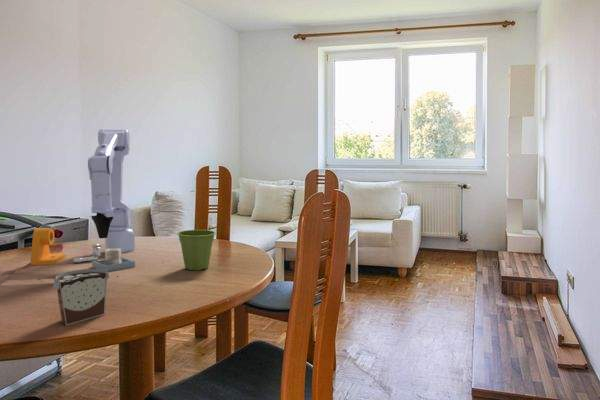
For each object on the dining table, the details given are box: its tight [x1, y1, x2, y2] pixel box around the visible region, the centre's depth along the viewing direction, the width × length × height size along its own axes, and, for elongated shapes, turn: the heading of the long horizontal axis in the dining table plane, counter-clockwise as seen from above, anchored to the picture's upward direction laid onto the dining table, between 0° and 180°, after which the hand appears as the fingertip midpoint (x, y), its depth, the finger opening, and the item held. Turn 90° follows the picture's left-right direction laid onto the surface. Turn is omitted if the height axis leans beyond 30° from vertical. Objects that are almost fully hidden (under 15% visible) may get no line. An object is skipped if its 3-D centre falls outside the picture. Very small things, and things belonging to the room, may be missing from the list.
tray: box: [91, 256, 136, 273], centre depth 160 cm, size 9×9×3 cm
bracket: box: [30, 227, 67, 266], centre depth 168 cm, size 11×7×12 cm, turn 6°
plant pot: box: [176, 229, 217, 271], centre depth 163 cm, size 12×12×11 cm
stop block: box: [104, 248, 122, 265], centre depth 160 cm, size 4×4×6 cm
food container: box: [52, 268, 110, 327], centre depth 115 cm, size 12×6×10 cm, turn 145°
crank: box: [72, 243, 103, 264], centre depth 168 cm, size 9×3×5 cm, turn 134°
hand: (103, 237), depth 164 cm, fingers closed
